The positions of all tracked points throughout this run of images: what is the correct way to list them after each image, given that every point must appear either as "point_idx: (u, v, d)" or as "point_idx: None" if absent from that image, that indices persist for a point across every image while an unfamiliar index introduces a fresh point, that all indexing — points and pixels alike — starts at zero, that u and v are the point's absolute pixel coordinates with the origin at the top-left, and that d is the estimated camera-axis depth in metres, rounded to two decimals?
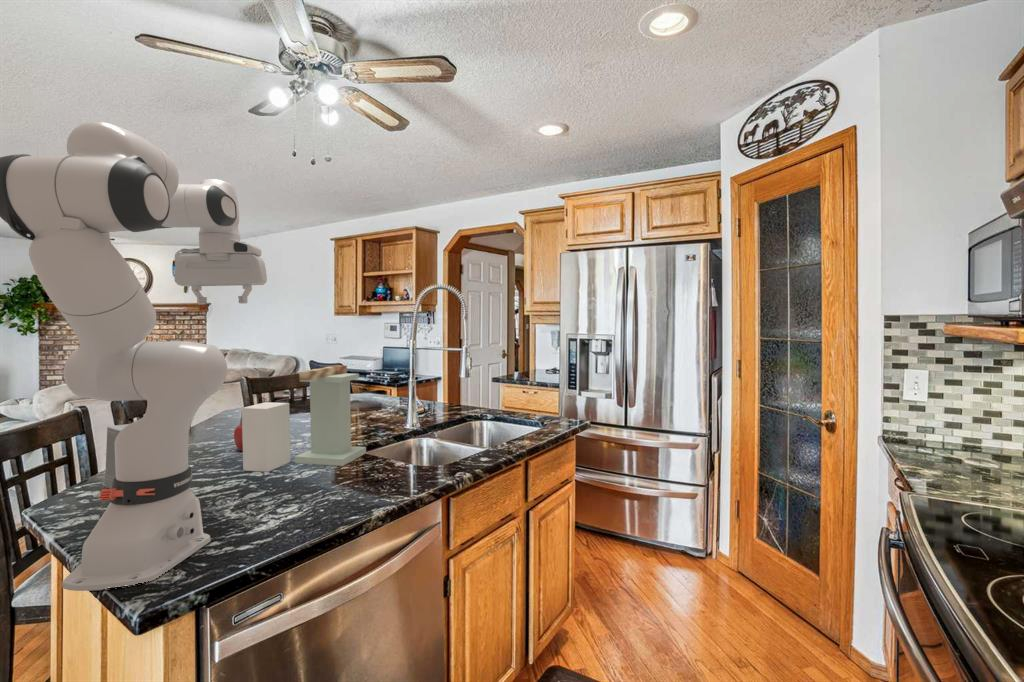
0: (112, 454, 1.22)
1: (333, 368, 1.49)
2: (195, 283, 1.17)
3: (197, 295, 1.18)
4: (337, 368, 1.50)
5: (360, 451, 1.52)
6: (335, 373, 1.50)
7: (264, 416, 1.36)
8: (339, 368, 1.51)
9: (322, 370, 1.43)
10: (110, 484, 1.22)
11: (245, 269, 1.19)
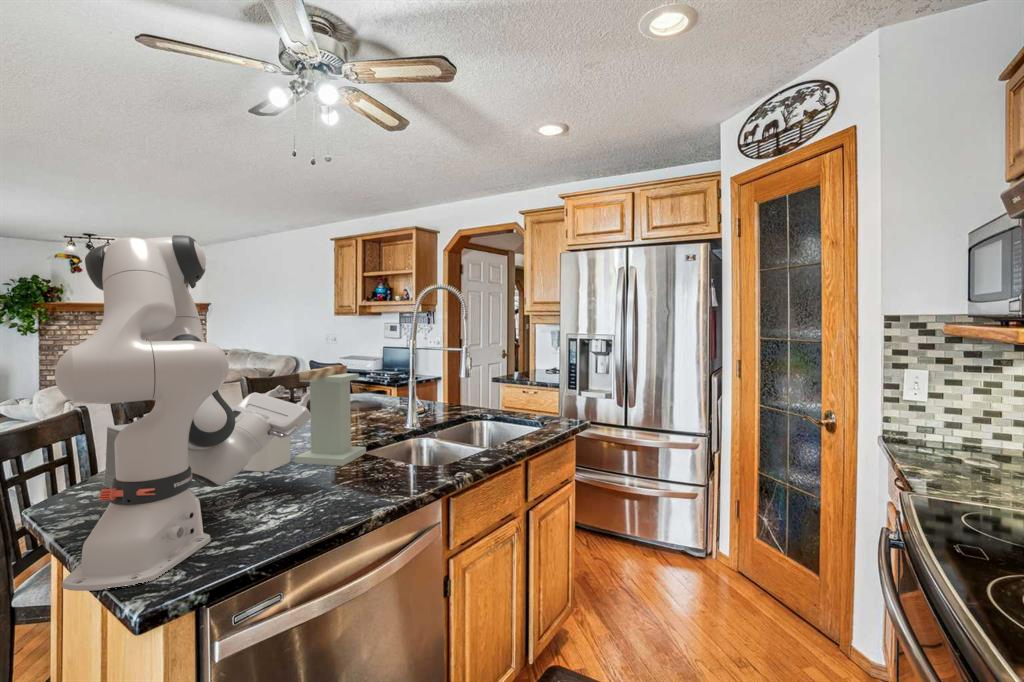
0: (112, 454, 1.22)
1: (333, 368, 1.49)
2: (293, 403, 1.22)
3: (302, 398, 1.24)
4: (337, 368, 1.50)
5: (360, 451, 1.52)
6: (335, 373, 1.50)
7: None
8: (339, 368, 1.51)
9: (322, 370, 1.43)
10: (110, 484, 1.22)
11: (252, 403, 1.24)
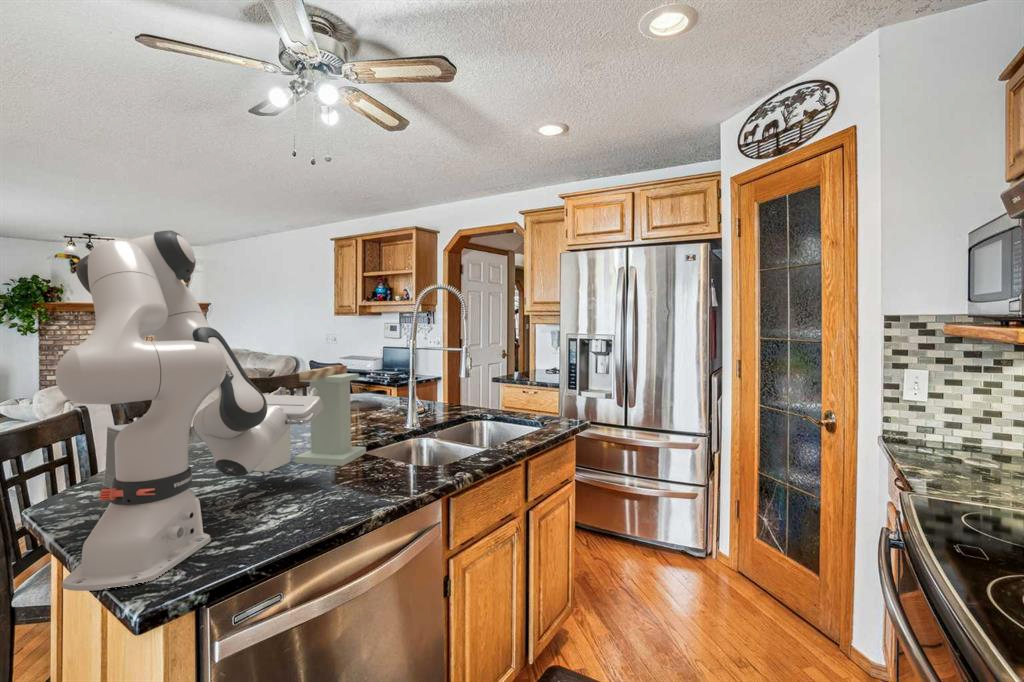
0: (112, 454, 1.22)
1: (333, 368, 1.49)
2: (304, 396, 1.28)
3: (311, 391, 1.31)
4: (337, 368, 1.50)
5: (360, 451, 1.52)
6: (335, 373, 1.50)
7: None
8: (339, 368, 1.51)
9: (322, 370, 1.43)
10: (110, 484, 1.22)
11: None
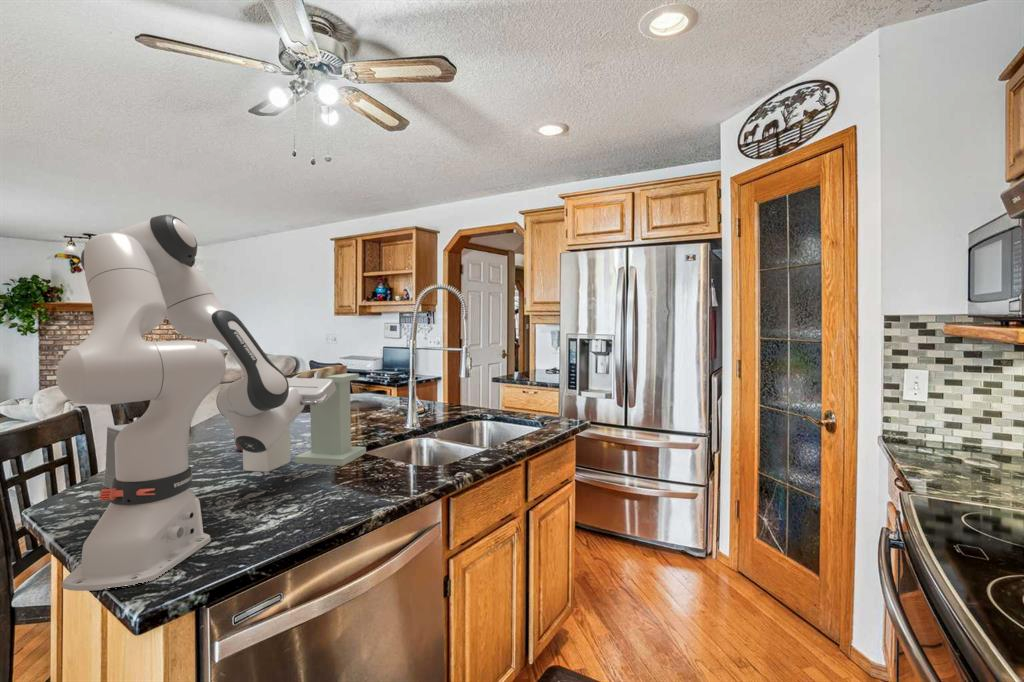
0: (112, 454, 1.22)
1: (333, 368, 1.49)
2: (318, 378, 1.34)
3: (315, 374, 1.37)
4: (337, 368, 1.50)
5: (360, 451, 1.52)
6: (335, 373, 1.50)
7: None
8: (339, 368, 1.51)
9: (322, 370, 1.43)
10: (110, 484, 1.22)
11: None
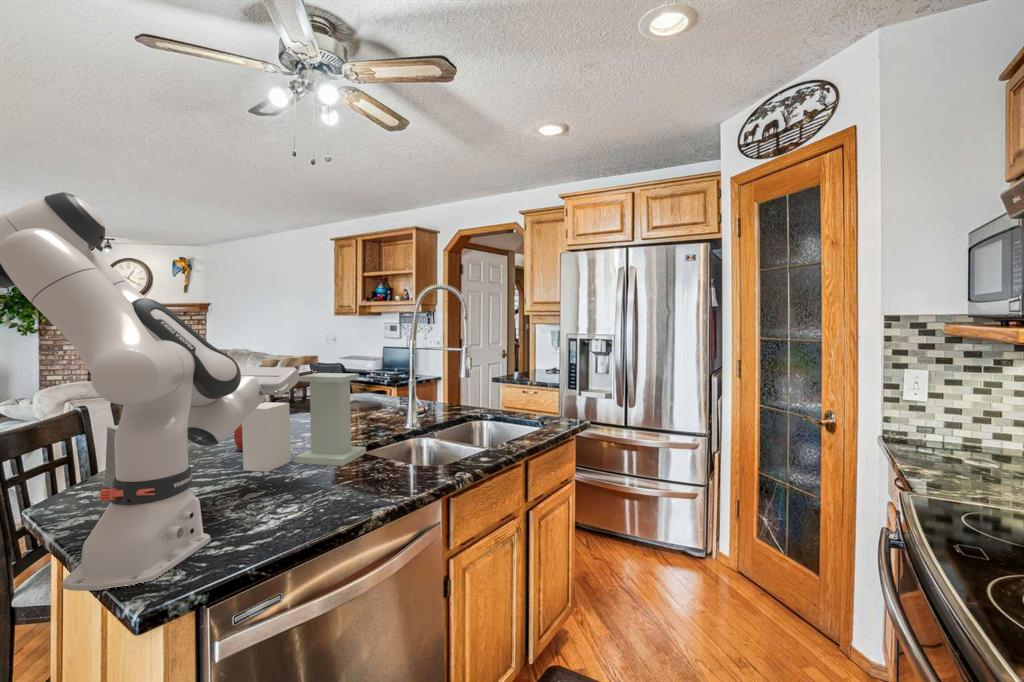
0: (112, 454, 1.22)
1: (302, 358, 1.40)
2: (280, 367, 1.25)
3: (279, 363, 1.28)
4: (306, 358, 1.41)
5: (360, 451, 1.52)
6: (304, 363, 1.41)
7: (264, 416, 1.36)
8: (309, 358, 1.42)
9: (288, 359, 1.34)
10: (110, 484, 1.22)
11: None
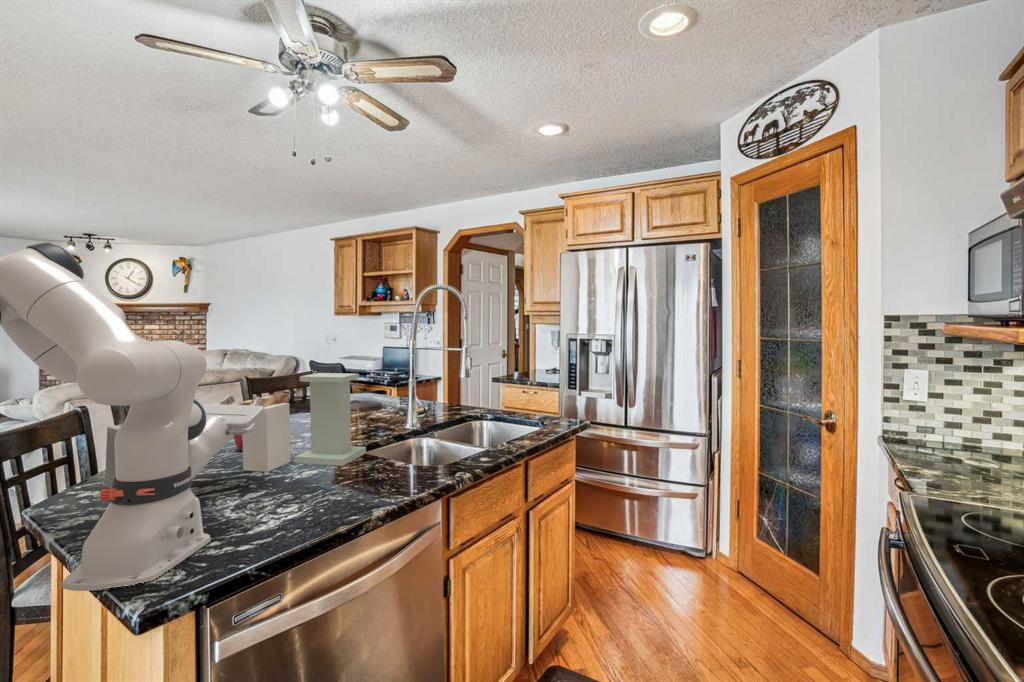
0: (112, 454, 1.22)
1: (272, 398, 1.42)
2: (248, 405, 1.27)
3: (254, 401, 1.30)
4: (276, 397, 1.44)
5: (360, 451, 1.52)
6: (274, 403, 1.43)
7: None
8: (279, 397, 1.44)
9: None
10: (110, 484, 1.22)
11: None
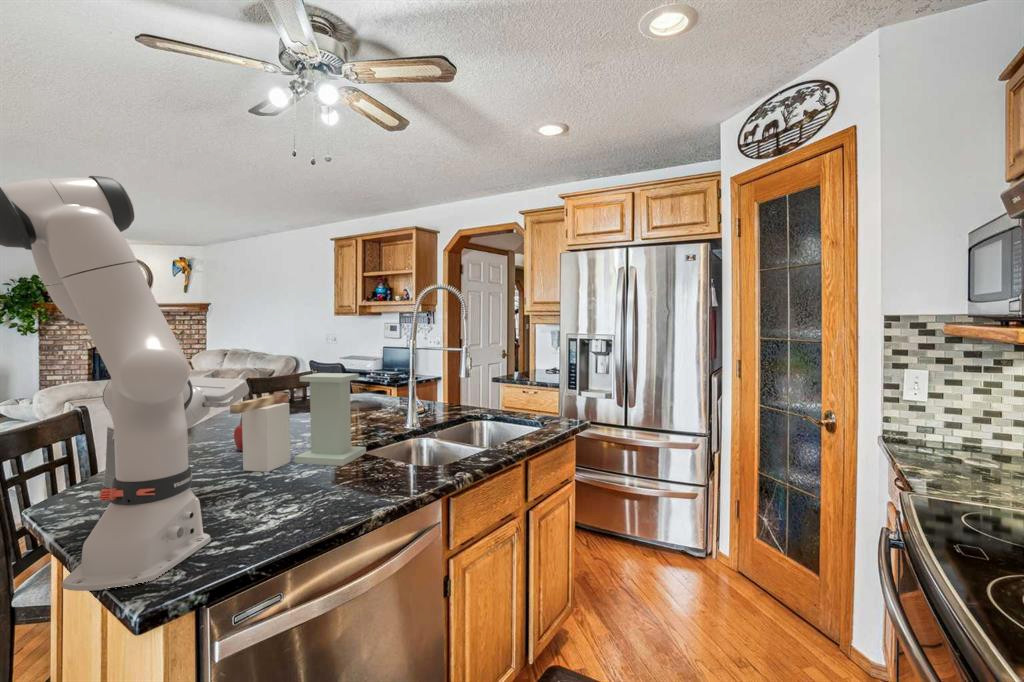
0: (112, 454, 1.22)
1: (272, 398, 1.42)
2: (230, 379, 1.20)
3: (240, 375, 1.23)
4: (276, 397, 1.44)
5: (360, 451, 1.52)
6: (274, 403, 1.43)
7: (264, 416, 1.36)
8: (279, 397, 1.44)
9: (257, 401, 1.36)
10: (110, 484, 1.22)
11: None
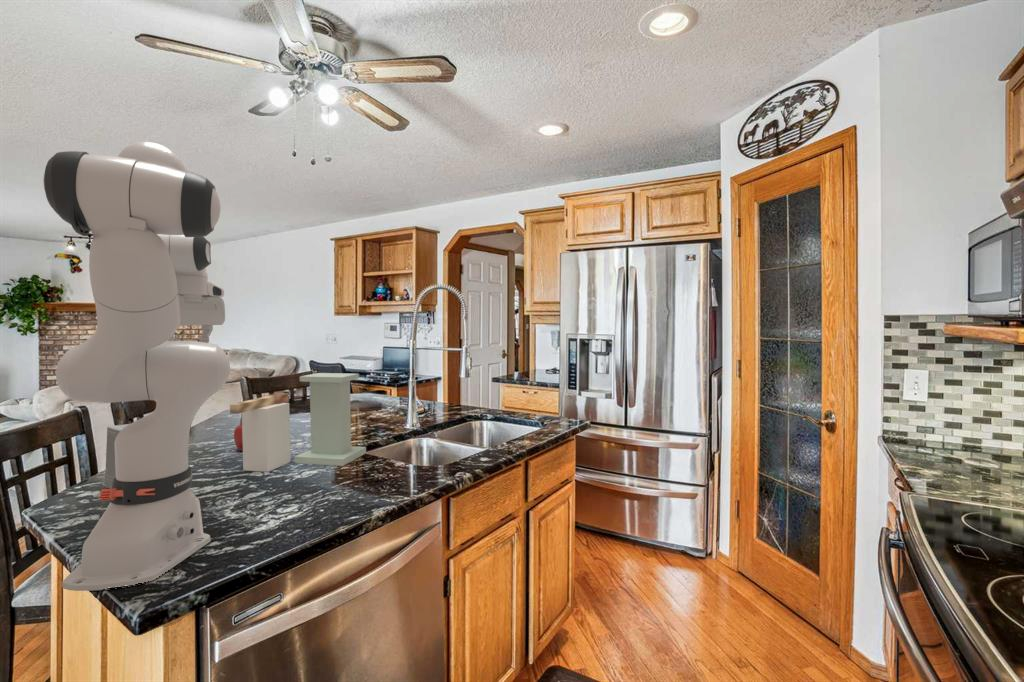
0: (112, 454, 1.22)
1: (272, 398, 1.42)
2: None
3: (172, 336, 1.15)
4: (276, 397, 1.44)
5: (360, 451, 1.52)
6: (274, 403, 1.43)
7: (264, 416, 1.36)
8: (279, 397, 1.44)
9: (257, 401, 1.36)
10: (110, 484, 1.22)
11: (213, 311, 1.26)
